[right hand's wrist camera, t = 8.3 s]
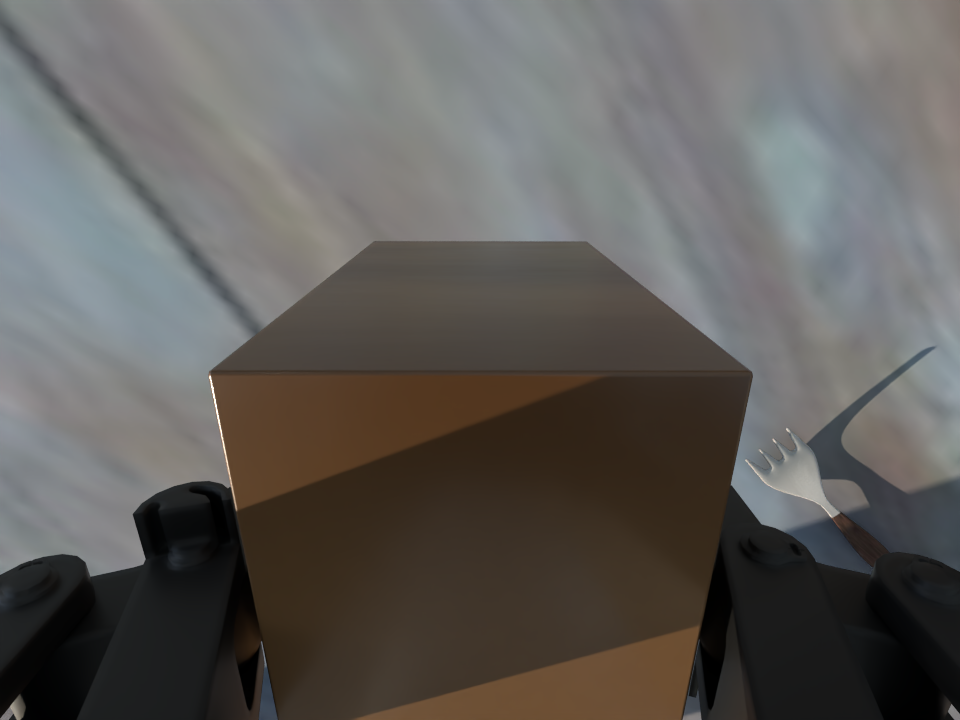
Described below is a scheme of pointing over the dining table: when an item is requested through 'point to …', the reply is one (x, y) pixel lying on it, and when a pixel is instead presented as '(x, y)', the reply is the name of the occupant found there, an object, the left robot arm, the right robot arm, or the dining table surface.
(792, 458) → the fork
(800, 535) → the dining table surface
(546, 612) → the bar
